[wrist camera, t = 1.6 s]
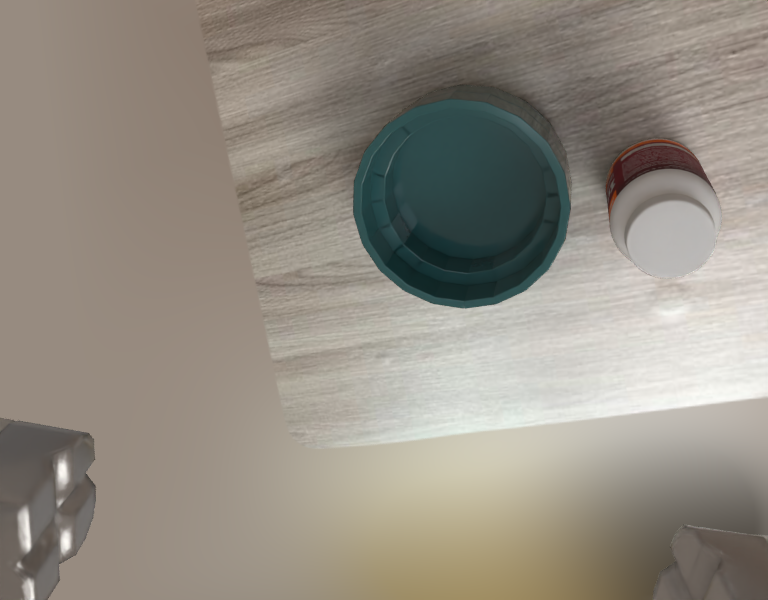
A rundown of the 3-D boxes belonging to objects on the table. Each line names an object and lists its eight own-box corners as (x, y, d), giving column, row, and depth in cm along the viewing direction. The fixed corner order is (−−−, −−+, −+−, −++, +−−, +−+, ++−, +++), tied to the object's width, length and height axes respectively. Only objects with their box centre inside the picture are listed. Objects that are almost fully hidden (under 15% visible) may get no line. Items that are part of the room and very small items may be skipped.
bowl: (507, 41, 47) (498, 53, 41) (606, 220, 50) (609, 252, 45) (339, 148, 53) (313, 171, 47) (438, 301, 56) (423, 337, 51)
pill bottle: (590, 161, 49) (593, 214, 39) (681, 119, 46) (707, 165, 37) (626, 238, 50) (637, 306, 41) (715, 201, 48) (749, 266, 38)
